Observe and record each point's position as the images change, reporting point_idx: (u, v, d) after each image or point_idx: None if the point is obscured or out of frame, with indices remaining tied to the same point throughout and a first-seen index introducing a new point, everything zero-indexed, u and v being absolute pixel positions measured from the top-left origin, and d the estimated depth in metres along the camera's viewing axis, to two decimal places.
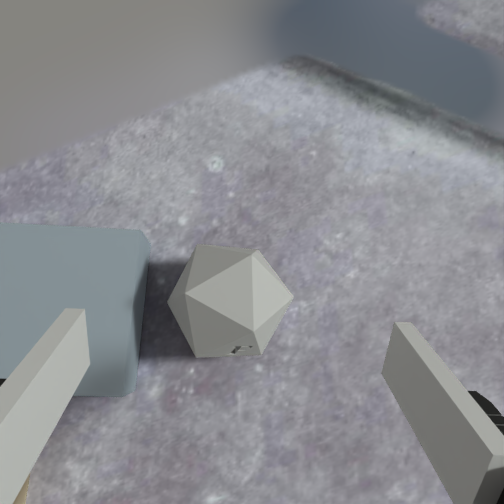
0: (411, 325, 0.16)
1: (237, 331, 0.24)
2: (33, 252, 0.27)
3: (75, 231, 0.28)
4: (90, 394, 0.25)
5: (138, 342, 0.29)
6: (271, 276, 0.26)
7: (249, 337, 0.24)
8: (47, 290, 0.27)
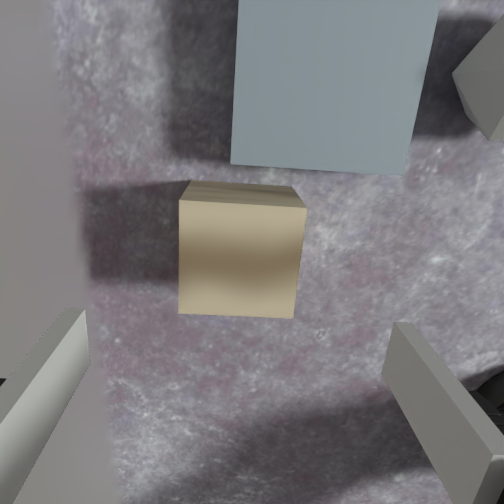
0: (411, 325, 0.16)
1: None
2: None
3: None
4: (373, 172, 0.26)
5: None
6: None
7: None
8: (331, 53, 0.23)
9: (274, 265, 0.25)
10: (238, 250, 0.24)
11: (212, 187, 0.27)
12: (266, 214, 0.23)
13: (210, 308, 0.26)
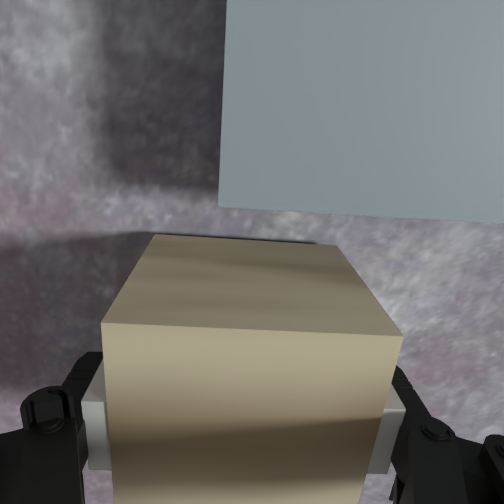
0: None
1: None
2: None
3: None
4: None
5: None
6: None
7: None
8: None
9: (320, 444, 0.11)
10: (242, 418, 0.11)
11: (190, 258, 0.14)
12: (308, 350, 0.10)
13: None
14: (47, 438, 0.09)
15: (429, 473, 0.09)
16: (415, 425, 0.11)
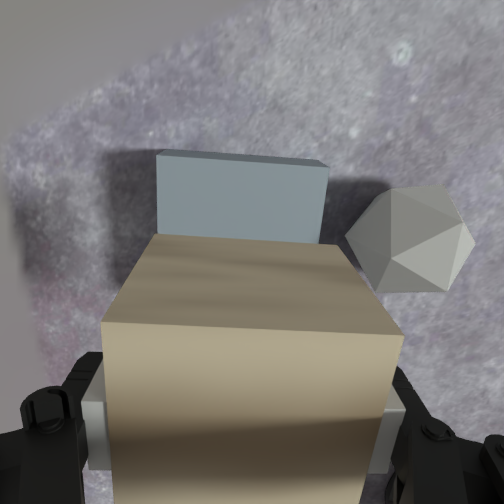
0: None
1: (430, 288, 0.26)
2: (220, 190, 0.26)
3: (261, 168, 0.26)
4: None
5: None
6: (468, 234, 0.26)
7: None
8: (238, 229, 0.27)
9: (321, 443, 0.11)
10: (242, 418, 0.11)
11: (190, 258, 0.14)
12: (308, 349, 0.10)
13: None
14: (47, 438, 0.09)
15: (429, 473, 0.09)
16: (415, 425, 0.11)
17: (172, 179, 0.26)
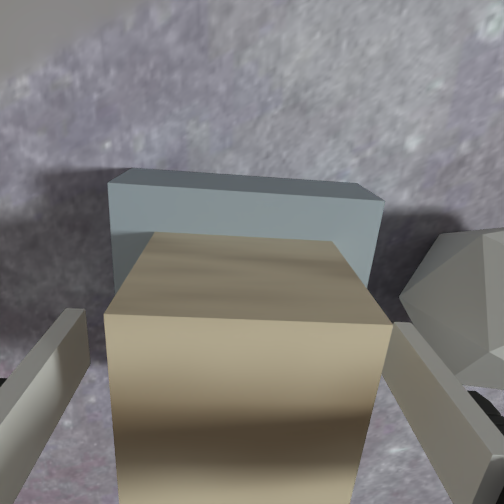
0: (411, 325, 0.16)
1: None
2: None
3: (276, 202, 0.16)
4: None
5: None
6: None
7: None
8: None
9: (315, 430, 0.12)
10: (239, 406, 0.11)
11: (189, 254, 0.14)
12: (301, 339, 0.11)
13: None
14: None
15: None
16: None
17: (135, 220, 0.16)
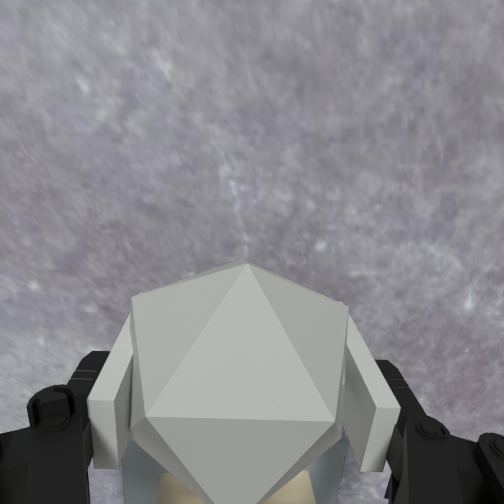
0: None
1: (324, 437, 0.11)
2: None
3: None
4: (340, 471, 0.21)
5: None
6: (200, 343, 0.11)
7: (337, 405, 0.11)
8: None
9: None
10: None
11: None
12: None
13: None
14: (53, 436, 0.09)
15: (424, 471, 0.09)
16: (410, 424, 0.11)
17: None
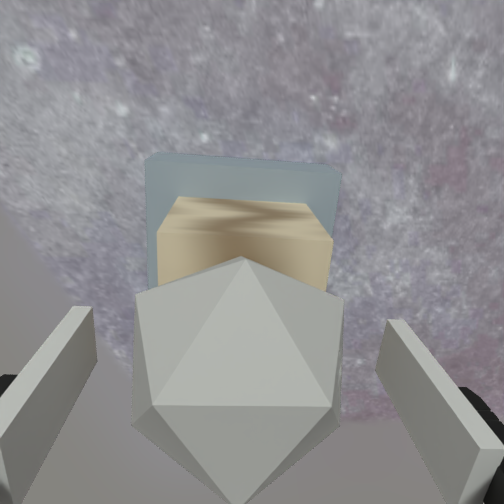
0: (404, 322, 0.16)
1: (322, 422, 0.11)
2: None
3: (152, 236, 0.24)
4: (334, 207, 0.24)
5: (277, 162, 0.26)
6: (202, 335, 0.11)
7: (334, 392, 0.12)
8: None
9: None
10: None
11: None
12: None
13: None
14: None
15: None
16: None
17: None
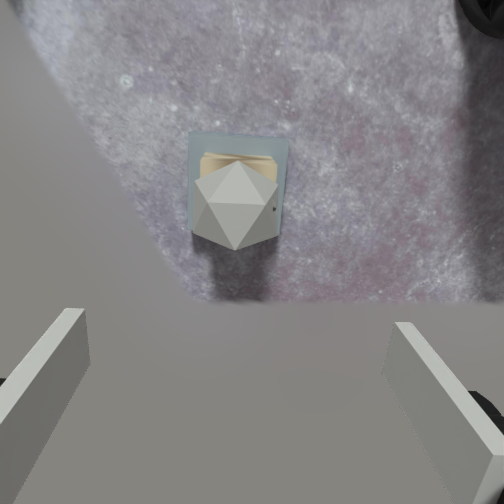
0: (411, 325, 0.16)
1: (264, 214, 0.33)
2: None
3: (191, 174, 0.46)
4: (286, 158, 0.45)
5: (257, 136, 0.47)
6: (223, 183, 0.33)
7: (268, 205, 0.33)
8: None
9: None
10: None
11: None
12: None
13: None
14: None
15: None
16: None
17: None
